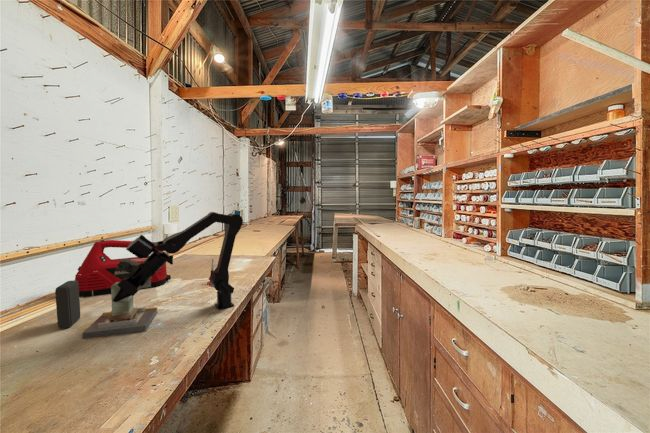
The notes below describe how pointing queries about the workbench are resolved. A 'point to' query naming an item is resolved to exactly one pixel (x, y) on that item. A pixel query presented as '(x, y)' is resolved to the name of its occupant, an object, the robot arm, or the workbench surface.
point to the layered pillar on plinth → (121, 306)
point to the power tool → (110, 270)
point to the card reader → (67, 304)
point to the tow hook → (212, 269)
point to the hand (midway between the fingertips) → (117, 298)
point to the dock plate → (121, 324)
